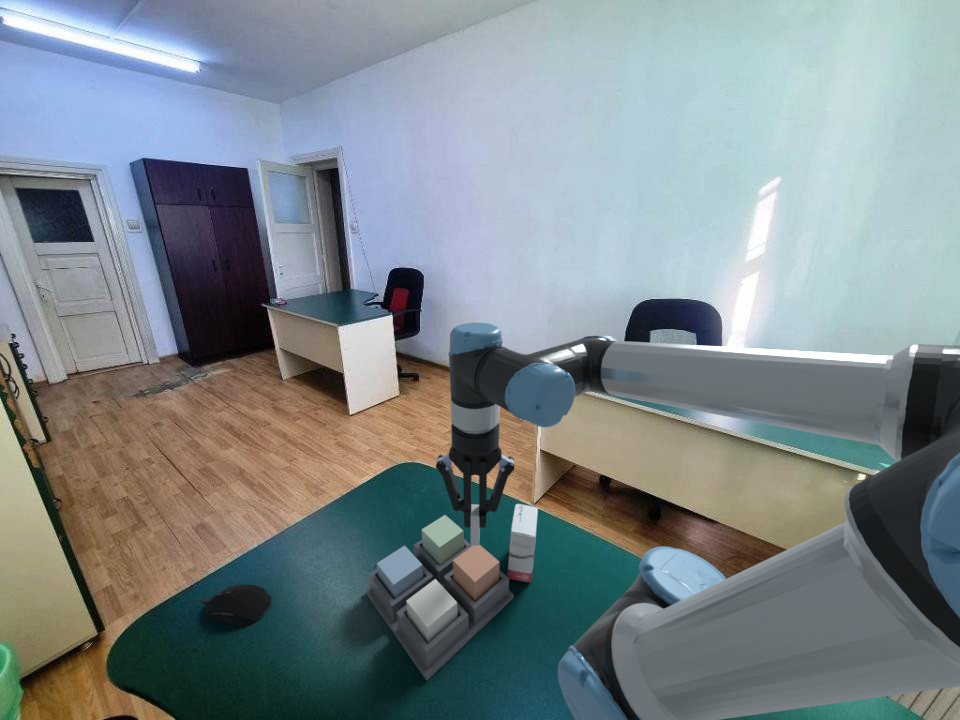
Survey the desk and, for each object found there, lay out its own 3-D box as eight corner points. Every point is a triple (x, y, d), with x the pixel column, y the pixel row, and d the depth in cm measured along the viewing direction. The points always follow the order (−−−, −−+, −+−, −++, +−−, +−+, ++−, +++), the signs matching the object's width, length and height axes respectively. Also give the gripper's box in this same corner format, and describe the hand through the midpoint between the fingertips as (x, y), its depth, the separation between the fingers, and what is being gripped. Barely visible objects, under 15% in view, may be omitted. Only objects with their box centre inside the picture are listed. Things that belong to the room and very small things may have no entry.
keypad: (513, 598, 70) (514, 578, 69) (426, 681, 58) (425, 659, 56) (447, 537, 84) (447, 519, 83) (365, 593, 71) (363, 573, 70)
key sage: (463, 549, 76) (463, 530, 74) (440, 567, 72) (439, 547, 71) (445, 533, 80) (445, 514, 79) (422, 548, 76) (421, 529, 75)
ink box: (532, 584, 73) (535, 537, 69) (507, 579, 74) (508, 532, 70) (535, 549, 81) (538, 505, 77) (512, 545, 82) (514, 501, 78)
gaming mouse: (211, 586, 73) (206, 571, 72) (279, 597, 71) (275, 582, 70) (182, 617, 67) (176, 601, 66) (255, 630, 65) (251, 614, 64)
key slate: (423, 584, 70) (422, 564, 68) (395, 605, 66) (393, 584, 65) (406, 564, 74) (404, 545, 73) (379, 583, 70) (376, 563, 69)
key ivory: (457, 623, 63) (457, 602, 62) (428, 649, 59) (427, 627, 58) (436, 599, 67) (435, 578, 66) (408, 621, 63) (406, 600, 62)
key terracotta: (499, 582, 69) (499, 561, 67) (475, 603, 65) (475, 582, 64) (477, 562, 73) (477, 542, 72) (453, 580, 69) (452, 560, 68)
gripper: (515, 411, 61) (511, 524, 69) (437, 410, 62) (441, 522, 70) (518, 436, 54) (513, 558, 62) (429, 434, 55) (435, 555, 63)
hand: (475, 539), depth 66 cm, fingers closed
